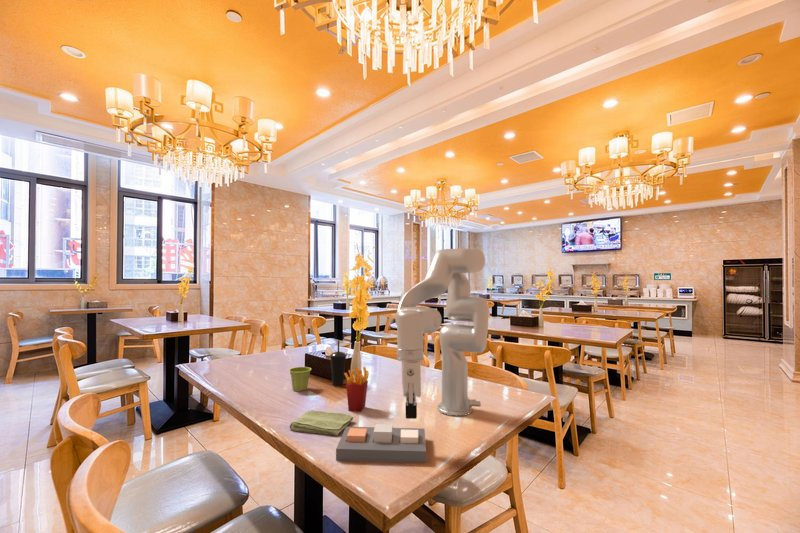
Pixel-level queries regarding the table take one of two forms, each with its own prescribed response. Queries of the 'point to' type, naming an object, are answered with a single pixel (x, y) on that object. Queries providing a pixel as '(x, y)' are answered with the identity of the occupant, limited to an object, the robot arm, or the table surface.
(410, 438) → the cream key
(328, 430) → the washcloth
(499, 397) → the table surface
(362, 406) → the french fries
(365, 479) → the table surface
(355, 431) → the terracotta key
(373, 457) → the keypad base
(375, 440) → the grey key
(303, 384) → the plant pot
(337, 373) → the drinking cup
